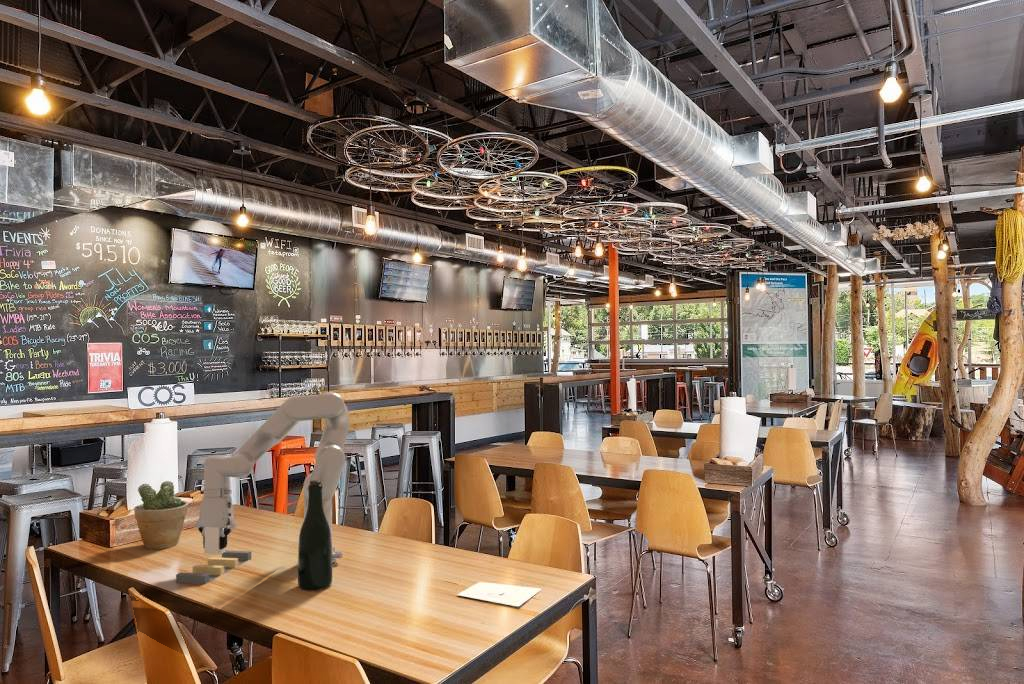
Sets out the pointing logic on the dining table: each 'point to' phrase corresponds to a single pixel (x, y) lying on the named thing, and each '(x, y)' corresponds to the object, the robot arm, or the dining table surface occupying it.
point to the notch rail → (211, 577)
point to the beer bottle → (315, 544)
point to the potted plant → (160, 516)
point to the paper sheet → (500, 593)
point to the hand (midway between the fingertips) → (215, 547)
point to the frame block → (212, 541)
